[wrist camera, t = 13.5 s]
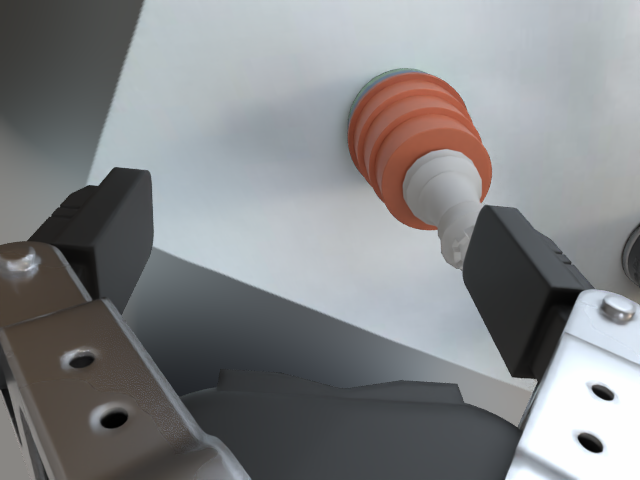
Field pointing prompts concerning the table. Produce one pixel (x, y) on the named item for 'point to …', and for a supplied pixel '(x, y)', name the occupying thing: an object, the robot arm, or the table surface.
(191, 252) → the table surface
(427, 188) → the rook chess piece
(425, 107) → the cup stack
